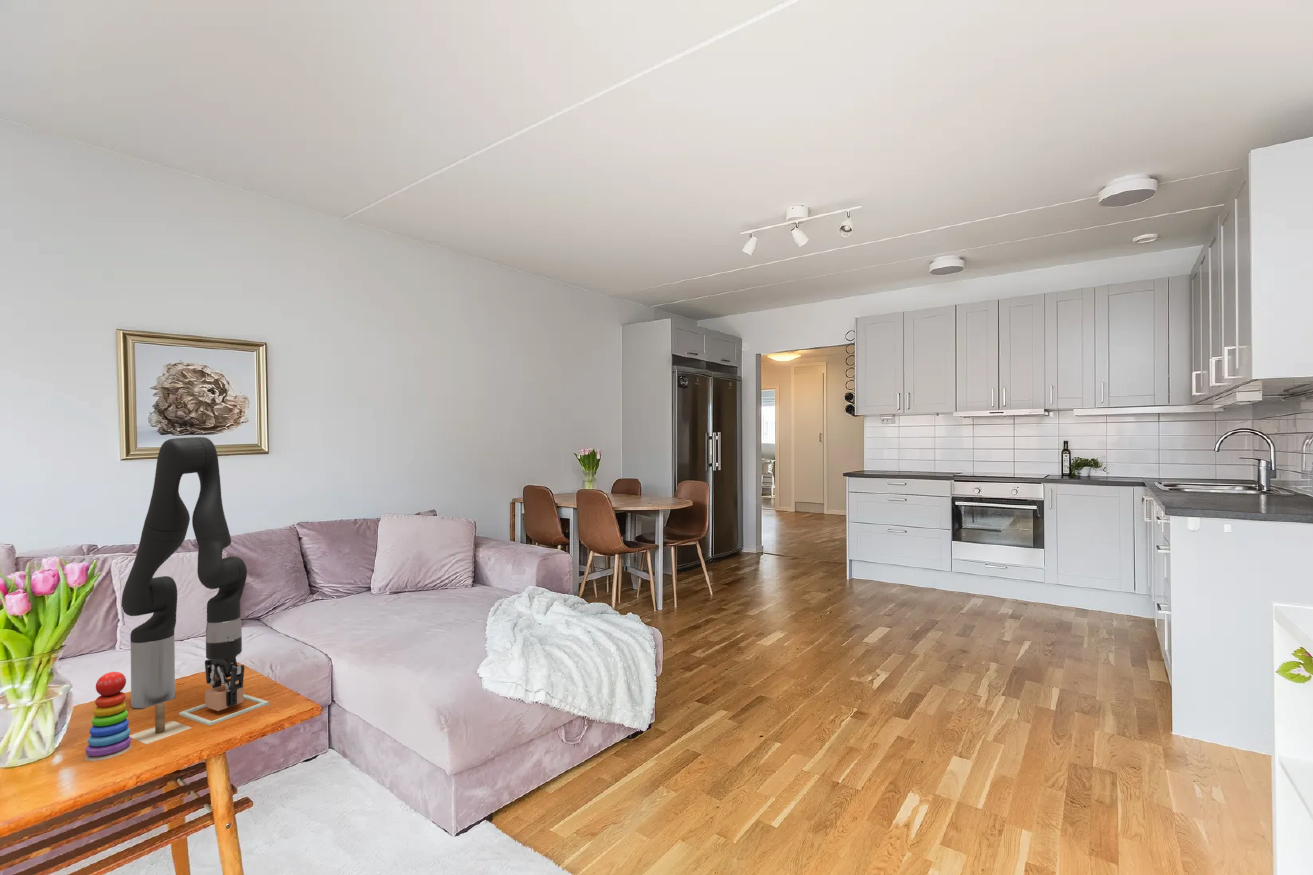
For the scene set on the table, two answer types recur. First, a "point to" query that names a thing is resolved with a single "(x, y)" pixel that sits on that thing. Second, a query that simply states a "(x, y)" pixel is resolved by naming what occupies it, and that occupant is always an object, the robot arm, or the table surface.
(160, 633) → the robot arm
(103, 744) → the stacking toy
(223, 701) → the collar
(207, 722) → the tray
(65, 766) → the table surface
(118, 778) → the table surface
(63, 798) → the table surface
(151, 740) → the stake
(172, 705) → the table surface
